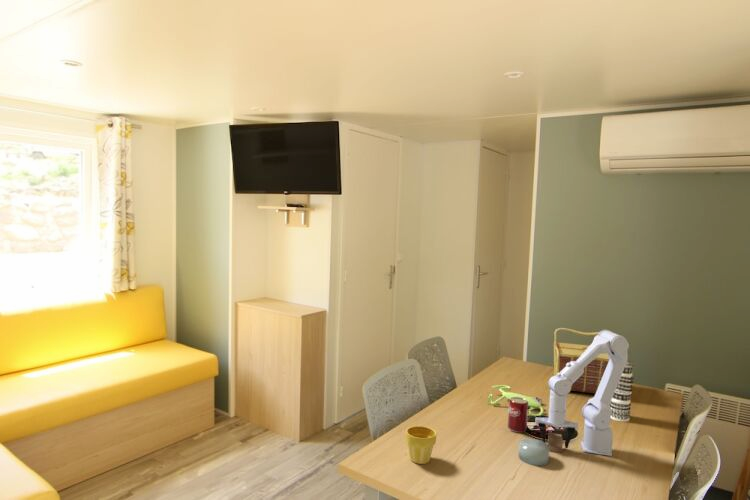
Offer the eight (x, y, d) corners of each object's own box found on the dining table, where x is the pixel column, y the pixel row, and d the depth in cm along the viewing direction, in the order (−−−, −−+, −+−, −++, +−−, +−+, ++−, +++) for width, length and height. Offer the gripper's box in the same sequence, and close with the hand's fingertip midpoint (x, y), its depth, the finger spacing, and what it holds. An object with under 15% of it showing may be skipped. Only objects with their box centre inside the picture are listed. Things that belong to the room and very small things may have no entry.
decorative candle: (606, 418, 205) (610, 361, 204) (607, 411, 213) (611, 356, 212) (630, 423, 201) (635, 365, 199) (630, 416, 209) (634, 360, 208)
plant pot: (415, 449, 171) (417, 422, 171) (440, 459, 165) (442, 431, 164) (398, 459, 163) (400, 431, 163) (424, 470, 157) (425, 441, 156)
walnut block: (560, 447, 177) (561, 434, 177) (562, 453, 173) (562, 439, 172) (547, 445, 178) (548, 432, 178) (548, 451, 174) (549, 437, 174)
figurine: (494, 392, 233) (495, 381, 233) (551, 406, 218) (551, 394, 218) (480, 403, 218) (481, 391, 217) (540, 419, 203) (541, 406, 202)
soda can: (513, 433, 187) (515, 404, 186) (504, 426, 194) (505, 397, 193) (530, 432, 189) (532, 402, 188) (519, 424, 196) (521, 396, 195)
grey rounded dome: (547, 454, 171) (548, 441, 171) (549, 468, 162) (550, 454, 161) (518, 450, 174) (519, 436, 174) (519, 463, 164) (519, 449, 164)
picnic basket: (552, 392, 234) (556, 332, 232) (549, 376, 259) (553, 322, 257) (618, 401, 226) (622, 339, 224) (608, 384, 251) (612, 327, 249)
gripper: (577, 408, 176) (574, 443, 177) (535, 402, 180) (533, 437, 181) (580, 415, 170) (577, 452, 171) (537, 409, 173) (534, 446, 174)
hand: (555, 445), depth 175 cm, fingers open, 7 cm apart
